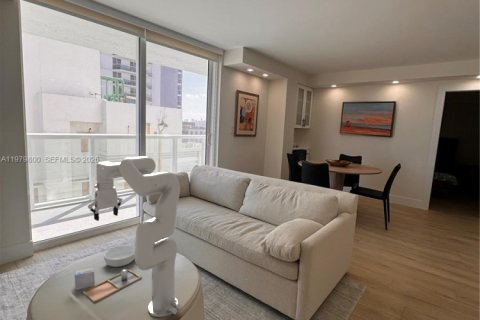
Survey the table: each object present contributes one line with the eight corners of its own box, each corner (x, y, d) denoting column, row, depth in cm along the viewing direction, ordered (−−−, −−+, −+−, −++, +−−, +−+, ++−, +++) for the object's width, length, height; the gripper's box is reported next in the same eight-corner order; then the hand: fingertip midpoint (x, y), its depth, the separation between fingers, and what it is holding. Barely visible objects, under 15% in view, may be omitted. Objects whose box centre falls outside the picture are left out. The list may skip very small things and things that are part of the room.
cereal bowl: (128, 272, 135) (127, 260, 134) (97, 271, 135) (97, 258, 135) (141, 256, 152) (141, 245, 151) (114, 255, 152) (114, 244, 151)
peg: (128, 279, 127) (128, 270, 126) (123, 282, 125) (123, 272, 124) (125, 277, 128) (125, 268, 128) (120, 279, 126) (120, 270, 126)
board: (142, 281, 128) (142, 277, 128) (95, 306, 109) (95, 302, 109) (128, 272, 135) (128, 268, 135) (81, 294, 116) (81, 290, 116)
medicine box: (94, 283, 125) (94, 266, 124) (94, 288, 121) (94, 271, 120) (76, 287, 121) (75, 270, 120) (75, 292, 117) (74, 275, 116)
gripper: (91, 190, 120) (92, 224, 122) (125, 184, 134) (126, 214, 136) (83, 187, 124) (85, 220, 126) (117, 182, 138) (118, 211, 140)
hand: (106, 217), depth 131 cm, fingers open, 9 cm apart
